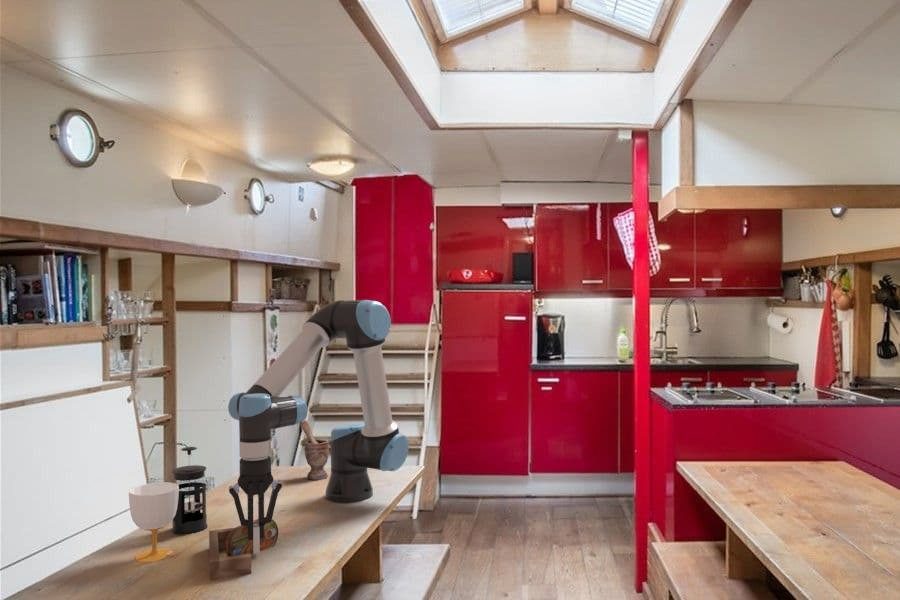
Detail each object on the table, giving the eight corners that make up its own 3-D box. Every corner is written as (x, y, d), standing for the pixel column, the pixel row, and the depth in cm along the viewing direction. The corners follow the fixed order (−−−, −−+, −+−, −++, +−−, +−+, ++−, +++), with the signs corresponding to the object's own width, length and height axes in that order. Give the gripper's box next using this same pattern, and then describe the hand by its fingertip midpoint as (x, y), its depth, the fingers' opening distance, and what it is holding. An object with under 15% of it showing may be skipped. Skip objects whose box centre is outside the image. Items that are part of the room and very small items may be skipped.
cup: (147, 568, 161) (146, 498, 161) (119, 558, 167) (118, 490, 167) (189, 552, 171) (188, 486, 171) (161, 544, 177) (160, 479, 177)
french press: (183, 522, 195) (183, 443, 195) (214, 523, 194) (213, 443, 194) (161, 536, 183) (161, 452, 183) (194, 537, 182) (193, 453, 182)
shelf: (245, 545, 176) (245, 526, 176) (251, 578, 155) (251, 556, 155) (209, 550, 173) (209, 530, 173) (210, 584, 152) (210, 562, 152)
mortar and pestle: (293, 479, 240) (292, 423, 239) (303, 473, 248) (303, 419, 248) (323, 481, 237) (322, 424, 237) (332, 475, 245) (332, 420, 245)
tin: (232, 566, 162) (230, 531, 162) (223, 564, 164) (222, 529, 164) (279, 547, 174) (278, 514, 174) (271, 545, 176) (270, 513, 176)
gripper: (280, 451, 172) (281, 543, 172) (227, 455, 167) (227, 550, 167) (284, 457, 165) (284, 553, 165) (228, 462, 160) (229, 561, 160)
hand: (256, 551), depth 166 cm, fingers closed
